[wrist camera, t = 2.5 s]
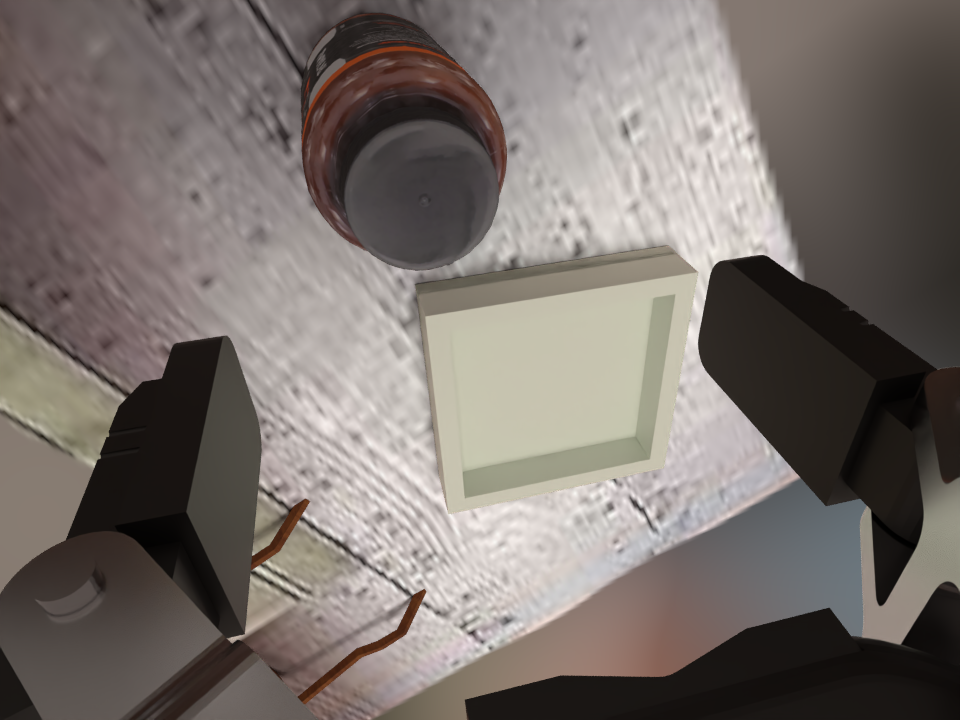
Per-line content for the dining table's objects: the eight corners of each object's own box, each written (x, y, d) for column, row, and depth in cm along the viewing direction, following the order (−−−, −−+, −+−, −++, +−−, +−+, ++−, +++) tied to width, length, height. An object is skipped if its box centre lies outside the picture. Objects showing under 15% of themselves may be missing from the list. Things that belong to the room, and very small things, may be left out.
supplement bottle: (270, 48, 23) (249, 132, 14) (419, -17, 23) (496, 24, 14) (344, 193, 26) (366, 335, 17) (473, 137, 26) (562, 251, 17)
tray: (438, 476, 37) (448, 514, 35) (415, 284, 30) (425, 316, 27) (641, 434, 39) (663, 468, 37) (668, 245, 32) (698, 272, 29)
